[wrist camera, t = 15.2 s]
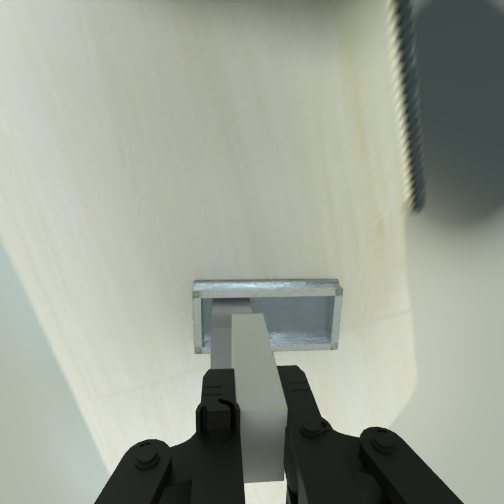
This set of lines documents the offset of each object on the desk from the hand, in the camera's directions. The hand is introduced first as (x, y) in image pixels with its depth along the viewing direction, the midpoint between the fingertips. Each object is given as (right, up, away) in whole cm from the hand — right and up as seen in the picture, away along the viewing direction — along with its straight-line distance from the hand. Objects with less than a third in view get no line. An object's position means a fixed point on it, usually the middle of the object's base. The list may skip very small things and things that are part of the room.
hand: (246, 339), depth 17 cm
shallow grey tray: (+2, -4, +33) cm, 33 cm away
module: (-3, -5, +32) cm, 32 cm away
